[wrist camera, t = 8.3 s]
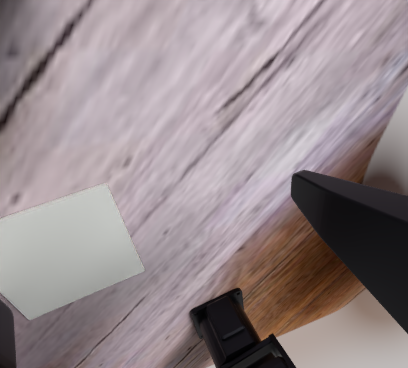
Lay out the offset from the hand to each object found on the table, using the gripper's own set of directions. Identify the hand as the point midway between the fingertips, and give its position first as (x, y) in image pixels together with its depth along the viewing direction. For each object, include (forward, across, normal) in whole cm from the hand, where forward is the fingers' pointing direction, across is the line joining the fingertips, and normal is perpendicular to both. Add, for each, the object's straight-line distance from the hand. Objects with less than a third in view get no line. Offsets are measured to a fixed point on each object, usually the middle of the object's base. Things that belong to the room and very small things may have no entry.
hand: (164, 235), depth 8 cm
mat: (+12, +7, +10) cm, 17 cm away
